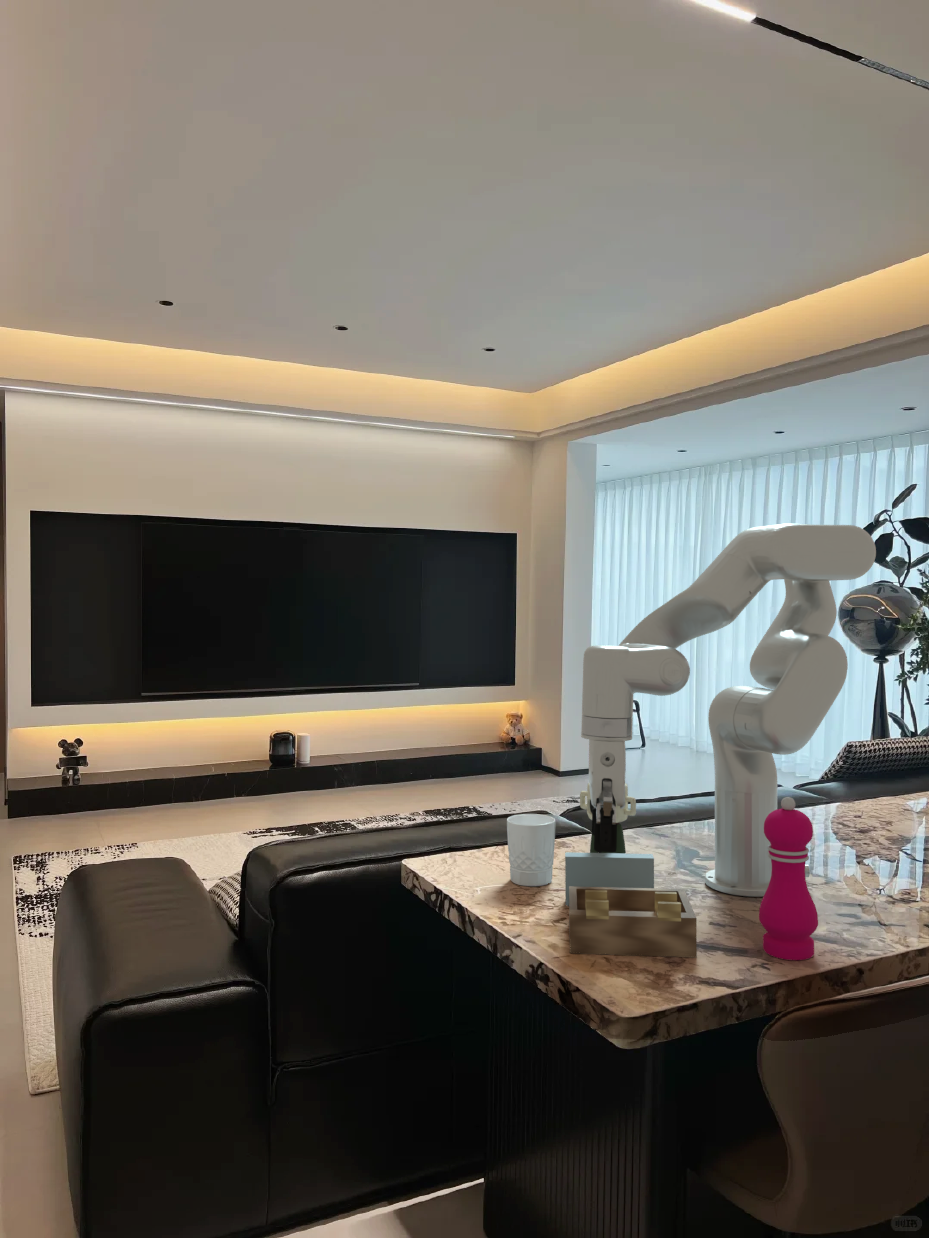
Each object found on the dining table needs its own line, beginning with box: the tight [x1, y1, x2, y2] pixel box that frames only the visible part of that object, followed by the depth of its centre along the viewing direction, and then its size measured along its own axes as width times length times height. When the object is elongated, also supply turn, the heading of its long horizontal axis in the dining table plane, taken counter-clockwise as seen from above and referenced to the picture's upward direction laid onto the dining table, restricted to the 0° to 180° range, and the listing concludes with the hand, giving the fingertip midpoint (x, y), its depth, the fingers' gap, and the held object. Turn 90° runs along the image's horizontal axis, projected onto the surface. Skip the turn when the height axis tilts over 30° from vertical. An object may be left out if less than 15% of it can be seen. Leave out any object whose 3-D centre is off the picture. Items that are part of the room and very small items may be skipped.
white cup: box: [506, 813, 556, 887], centre depth 151 cm, size 8×8×10 cm
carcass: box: [568, 886, 698, 958], centre depth 124 cm, size 16×13×7 cm
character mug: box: [579, 782, 637, 854], centre depth 165 cm, size 11×7×13 cm, turn 54°
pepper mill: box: [758, 796, 819, 961], centre depth 120 cm, size 7×7×20 cm
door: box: [564, 851, 655, 907], centre depth 139 cm, size 13×3×8 cm, turn 84°
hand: (603, 842), depth 139 cm, fingers open, 9 cm apart
